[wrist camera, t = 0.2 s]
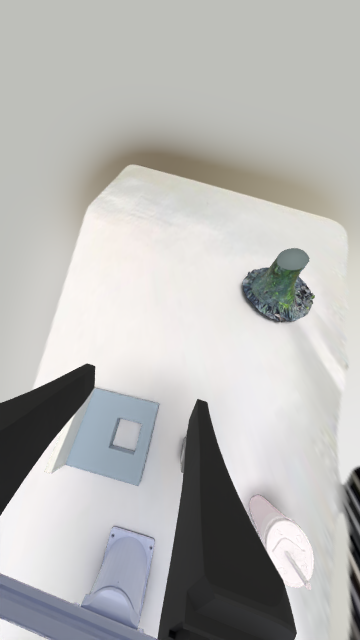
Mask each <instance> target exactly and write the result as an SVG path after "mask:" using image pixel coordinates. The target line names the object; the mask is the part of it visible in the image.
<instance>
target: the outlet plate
mask: <svg viewBox="0 0 360 640" xmlns="http://www.w3.org/2000/svg"><path fill="white" fill-rule="evenodd" d="M158 407H159V403H155V402H151V401H147V400H143V399H139V398H135V397H131V396H127V395H123V394H119V393H115V392H111V391H107V390H103V389H98V388H94V389H93V391H92V392H91V394H90V395H89V397H88V398H87V400H86V401H85V402H84V404H83V405H82V406H81V407H80V408H79V410H78V411H77V412H76V413H75V414H74V415H73V417H72V418H71V419H70V420H69V421H68V422H67V424H66V425H65V426H64V427H63V429H62V431H61V433H60V436H59V438H58V440H57V443H56V445H55V448H54V450H53V452H52V455H51V457H50V459H49V462H48V464H47V467H46V469H45V471H44V472H46V473H49V474H51V473H53V472H54V471H56V470H58V469H59V468H61V467H62V466H64V465H68V466H71V467H75V468H78V469H82V470H85V471H89V472H92V473H95V474H99V475H102V476H106V477H109V478H112V479H116V480H119V481H123V482H126V483H130V484H133V485H136V486H139V484H140V481H141V477H142V473H143V469H144V465H145V461H146V457H147V453H148V448H149V444H150V440H151V436H152V432H153V428H154V423H155V419H156V415H157V411H158ZM120 418H121V419H125V420H129V421H133V422H137V423H141V424H142V427H141V430H140V434H139V438H138V442H137V445H136V449H135V451H132V450H128V449H125V448H121V447H117V446H114V445H112V443H113V440H114V436H115V433H116V430H117V427H118V424H119V420H120Z"/></svg>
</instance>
